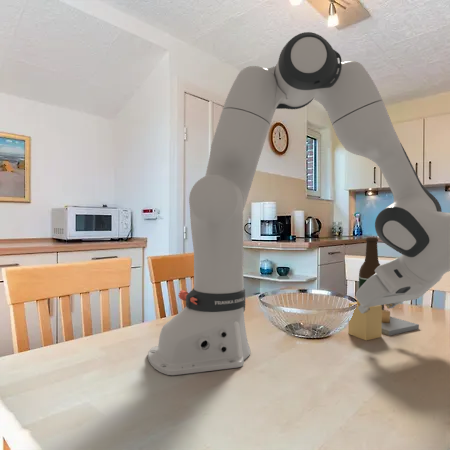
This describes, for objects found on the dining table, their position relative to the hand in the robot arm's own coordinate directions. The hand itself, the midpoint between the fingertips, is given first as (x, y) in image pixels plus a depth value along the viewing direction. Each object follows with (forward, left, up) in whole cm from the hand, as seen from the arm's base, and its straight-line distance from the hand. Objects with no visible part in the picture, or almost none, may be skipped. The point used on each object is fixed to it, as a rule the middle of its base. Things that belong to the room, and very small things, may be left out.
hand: (375, 308), depth 87 cm
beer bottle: (+21, +19, -8) cm, 30 cm away
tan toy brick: (0, +3, -8) cm, 8 cm away
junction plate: (+11, +6, -8) cm, 15 cm away
